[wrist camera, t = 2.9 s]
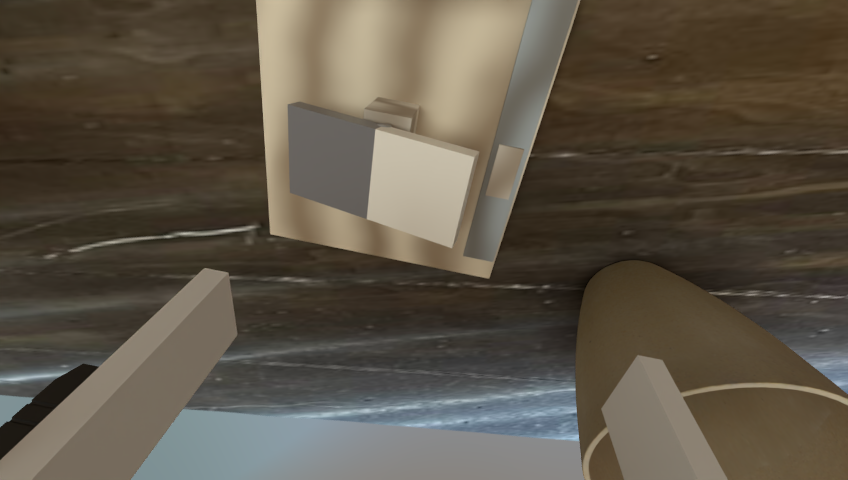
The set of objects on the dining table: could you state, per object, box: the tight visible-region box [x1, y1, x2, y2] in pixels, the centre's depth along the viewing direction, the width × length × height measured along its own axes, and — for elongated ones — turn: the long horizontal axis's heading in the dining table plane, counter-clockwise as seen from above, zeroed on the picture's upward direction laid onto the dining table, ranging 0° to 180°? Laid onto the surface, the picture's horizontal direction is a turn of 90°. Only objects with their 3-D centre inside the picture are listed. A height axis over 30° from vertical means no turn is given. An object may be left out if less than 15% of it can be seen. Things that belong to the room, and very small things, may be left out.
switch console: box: [256, 0, 580, 279], centre depth 24 cm, size 20×34×6 cm, turn 170°
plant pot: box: [576, 260, 848, 480], centre depth 28 cm, size 15×15×16 cm
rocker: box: [288, 102, 479, 248], centre depth 24 cm, size 12×6×2 cm, turn 81°
